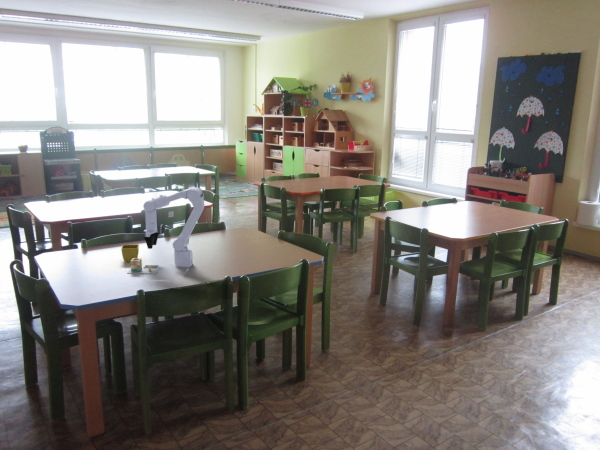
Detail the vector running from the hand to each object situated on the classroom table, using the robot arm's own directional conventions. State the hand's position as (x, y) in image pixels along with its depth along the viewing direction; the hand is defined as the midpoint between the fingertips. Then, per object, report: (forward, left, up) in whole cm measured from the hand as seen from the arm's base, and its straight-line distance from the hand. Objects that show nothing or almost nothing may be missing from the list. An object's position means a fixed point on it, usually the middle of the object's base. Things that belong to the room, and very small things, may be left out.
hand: (152, 246), depth 264 cm
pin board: (0, +15, -10) cm, 18 cm away
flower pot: (+13, -3, -10) cm, 17 cm away
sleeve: (+4, +15, -9) cm, 18 cm away
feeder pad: (-1, +7, -10) cm, 12 cm away
